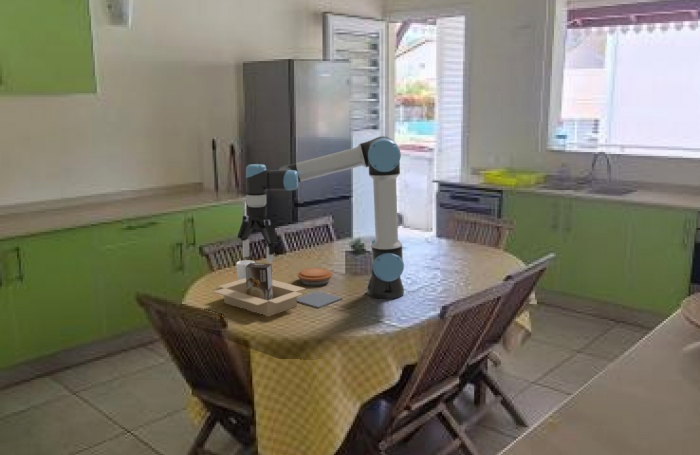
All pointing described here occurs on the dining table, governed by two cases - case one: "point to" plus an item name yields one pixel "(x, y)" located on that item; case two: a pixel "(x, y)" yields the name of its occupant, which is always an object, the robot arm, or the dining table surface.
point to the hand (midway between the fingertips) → (257, 259)
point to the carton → (281, 300)
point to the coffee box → (259, 280)
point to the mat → (318, 299)
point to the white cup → (242, 268)
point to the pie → (314, 276)
